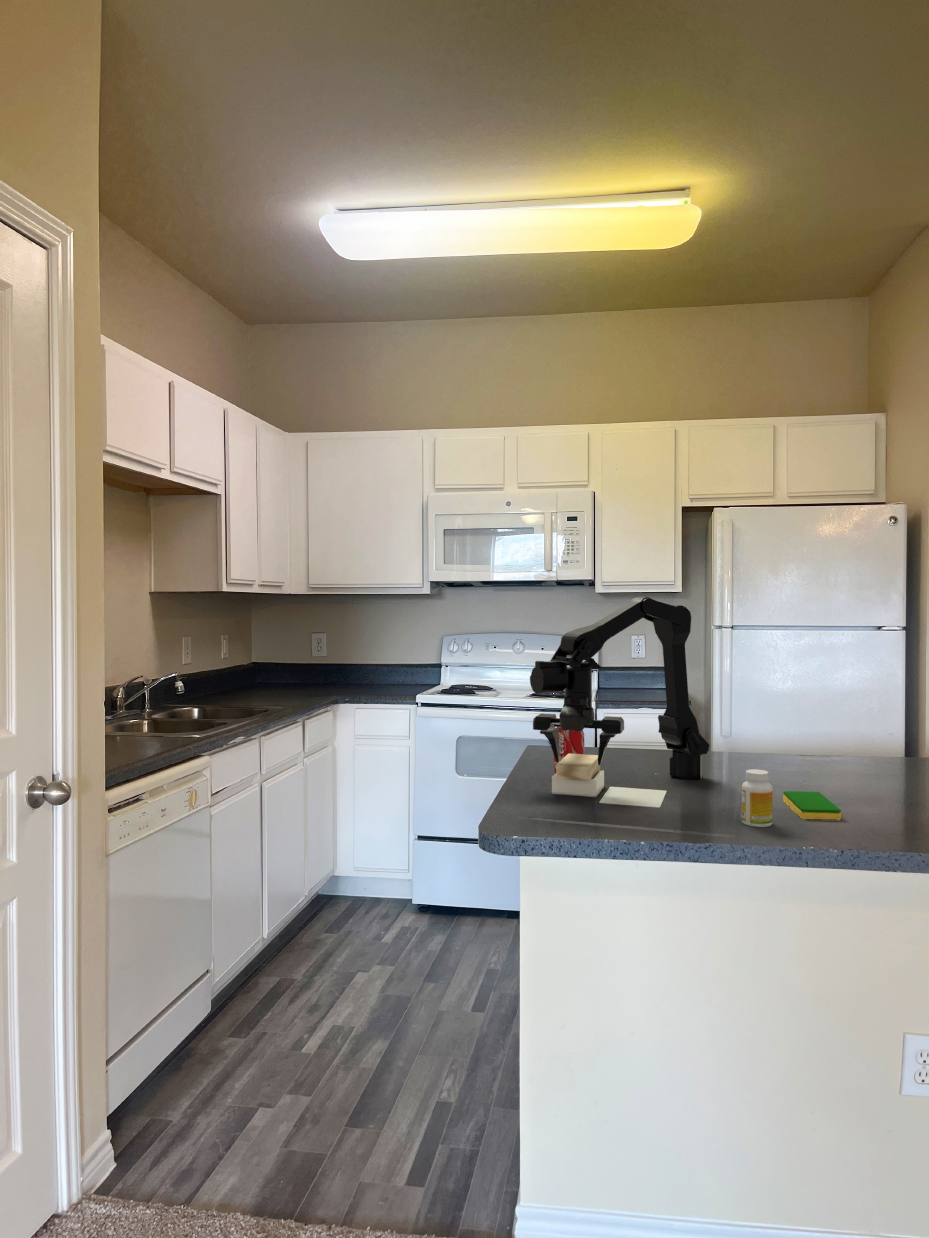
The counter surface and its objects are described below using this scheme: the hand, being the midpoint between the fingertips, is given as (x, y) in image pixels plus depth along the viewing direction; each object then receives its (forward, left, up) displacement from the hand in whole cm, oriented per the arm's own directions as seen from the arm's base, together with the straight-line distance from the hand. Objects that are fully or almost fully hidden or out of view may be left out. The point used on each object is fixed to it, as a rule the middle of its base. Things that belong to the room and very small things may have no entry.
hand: (578, 763), depth 177 cm
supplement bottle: (-36, +13, -6) cm, 39 cm away
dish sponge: (-46, 0, -7) cm, 47 cm away
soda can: (+5, -14, -6) cm, 16 cm away
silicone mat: (-12, +2, -6) cm, 14 cm away
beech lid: (0, 0, -2) cm, 2 cm away
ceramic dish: (0, 0, -6) cm, 6 cm away
